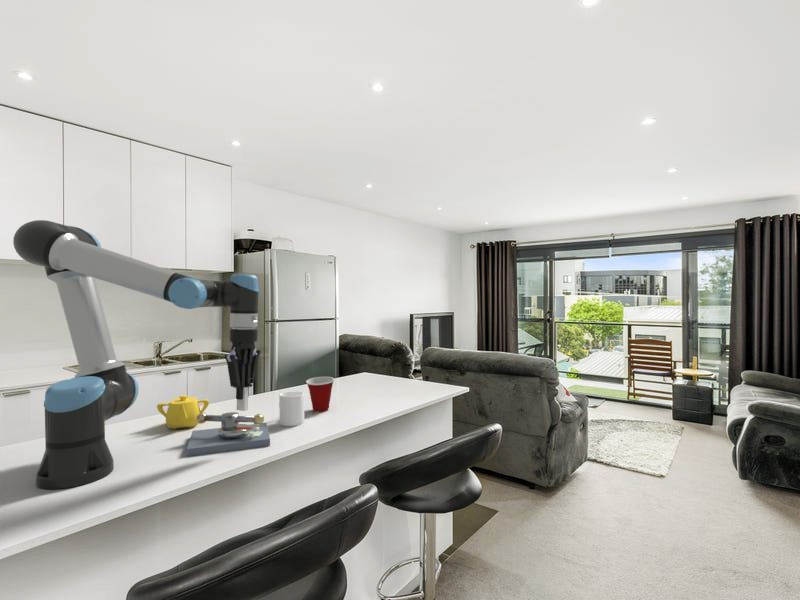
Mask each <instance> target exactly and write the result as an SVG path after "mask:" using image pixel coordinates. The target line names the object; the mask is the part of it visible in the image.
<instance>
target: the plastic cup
mask: <svg viewBox="0 0 800 600" xmlns="http://www.w3.org/2000/svg"><path fill="white" fill-rule="evenodd" d="M334 382H335V378H334V377H332V376H316V377H311V378H309V379H307V380H306V382H305V383H306V384H307V387H308V391H309V396H310V402H311V406H312V410H313V412H315V413H323V412H328V411H329V409H330V402H331V397H332V395H331V394H332V389H333V384H334Z"/></svg>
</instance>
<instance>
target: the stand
mask: <svg viewBox="0 0 800 600" xmlns="http://www.w3.org/2000/svg"><path fill="white" fill-rule="evenodd" d="M249 425H250V426H253V429H251V432H250V433H249V434H247V435H245V436H241V437H236V438H222V437H220V436H219V429H220V428H221V427H217V428H216V427H215V428H208V429H205V428H204V429H197V430H193V431H192V432H191V435H190V438H189V441H188V444H187V447H186V457H192V456H199V455H207V454H213V453H214V454H216V453H222V452H223V453H224V452H230V451H238V450H246V449H254V448H262V447H268V446H271V437H270V433H269V430H268V425H267V423H266V422H263V423H262V424H260V425H256V424H254V423H251V424H249Z"/></svg>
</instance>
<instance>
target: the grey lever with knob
mask: <svg viewBox="0 0 800 600" xmlns="http://www.w3.org/2000/svg"><path fill="white" fill-rule="evenodd" d="M196 421H197V422H198V424H205V423H206V422H217V423H218V422H221V423H220V424H221V425H220V426H221V427H219V428H220V429H219V436H220V437H222V438H236V437H241V436H245V435H247V434H249V433H250V432H251V429H253V426H250V425H251V424H248V423H252V424H256V425H260V424H262V423H264V421H265V416H264V415H263V414H261V413H260V414H259V413H257V414H255V415H254V416H253V415H252V416H251V415H239V412H235V411H231V412H225V413H222V414H221V415H220V414H219V415H215V414H214V415H213V414H207V413H206V412H203V413H199V414H198V415H197V417H196ZM246 423H247V424H246Z"/></svg>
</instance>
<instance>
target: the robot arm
mask: <svg viewBox="0 0 800 600" xmlns="http://www.w3.org/2000/svg"><path fill="white" fill-rule="evenodd" d="M12 243H13V249H14V250H15V252H16V254H17V255H18V256H19V257H20V258H22V259H23V260H25V261H26V262H28V263H29V264H33V265H35V266H41V267H44V270H45V274H46V276H47V277H46V278H47V279H48V280H49V281H52V282H54V283H55V284H56V287H57V291H58V294H59V298H60V302H61V305H62V308H63V312H64V316H65V320H66V324H67V328H68V331H69V335H70V338H71V341H72V342H71V343H72V346H73V349H74V354H75V357H76V361H77V365H78V368H79V369H78V371H77V372H76V374H75V375H74V377H72V378H69V379H64V380H59V381H57V382H55V383H53V384H51V385H50V386H48V387H47V389H46V391H45V395H44V400H43V407H44V422H45V423H44V433H45V435H44V438H45V440H44V441H45V449H44V453H43V456H42V458H41V461H40V464H39V467H38V470H37V471H36V472H37V473H36V477H35V479H36V481H35V483H36V487H38V488H39V489H43V490H44V489H45V490H60V489H61V490H62V489H67V488H74V487H78V486H82V485H85V484H88V483H92V482H95V481H99V480H100V479H102V478H104V477H106V476H108V475H109V474H111V473H112V472H113V471H114V467H115V466H114V465H115V464H114V463H115V462H114V458H113V455H112V453H111V451H110V449H109V446H108V443H107V441H106V426H105V425H106V423H105V422H106V421H107V420H110V419H111V418H113V417H115V416H119V415H121V414H123V413H125V411H127V410H128V409H129V408H131V407H132V406H133V405H134V403H135V402H136V400H137V398H138V395H139V384H138V382H137V380H136V378H135V377H134V376H133V375H132V374H130V373H129V372H128V371H127V368H126V365H125V363H124V362H122V361H120V360H119V359H117V356H116V352H115V348H114V345H113V344H114V343H113V340H112V337H111V334H110V330H109V325H108V323H107V319H106V318H107V317H106V316H105V312H104V308H103V304H102V300H101V296H100V293H99V289H98V286H97V282H96V279H97V280H101V281H104V282H108V283H110V284H114V285H116V286H120V287H123V288H126V289H130V290H133V291H135V292H139V293H141V294H145V295H148V296H151V297H155V298H158V299H160V300H163V301H167V302H169V303H172V304H173V305H174V306H176V307H179V308H181V309H184V310H185V309H186V310H192V309H198V308H229V309H230V312H229V327H230V328H231V329H230V330H229V341H230V342H231V343H232V344H231V345H232V346H231V348H230V352H229V353H228V354H227V353H226V354H224V359H225V361H226V364H227V371H228V376H229V377H228V378H229V383H230V384H229V385H230V387H232V388H235V390H236V391H235V398H236V411H241V412H246V411H248V410H249V395H250V388H251V387H253V384H254V382H255V379H256V375H257V374H256V373H257V367H258V361H259V357H260V355H261V350H260V349H257V348H256V344H255V343H256V342H257V341H258V336H259V335H258V329H257V327H258V321H259V320H258V319H259V318H258V317H259V316H258V315H259V292H260V289H259V278H258V277H257V276H256V275H255V274H247V273H246V274H243V273H242V274H241V273H233V274H231V276H230V279H229V280H208V279H197V278H193V277H190V276H188V275H185V274H182V273H178V272H175V271H172V270H169V269H166V268H163V267H162V266H161V267H160V266H157V265H154V264H152V263H148V262H145V261H142V260H139V259H136V258H133V257H130V256H127V255H124V254H121V253H119V252H114V251H113V250H109V249H106V248H103V247H102V246H101V243H100V241H99V239H97V238H96V236H94V235H93V234H92V233H90V232H89V231H86V230H85V229H83V228H80V227H77V226H73V225H66V224H61V223H58V222H54V221H50V220H46V219H45V220H43V219H41V220H40V219H37V220H32V221H29V222H26V223H24V224H22V225H20V227H19V228H18V229H17V230H16V231H15V234H14V235H13V242H12Z"/></svg>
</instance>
